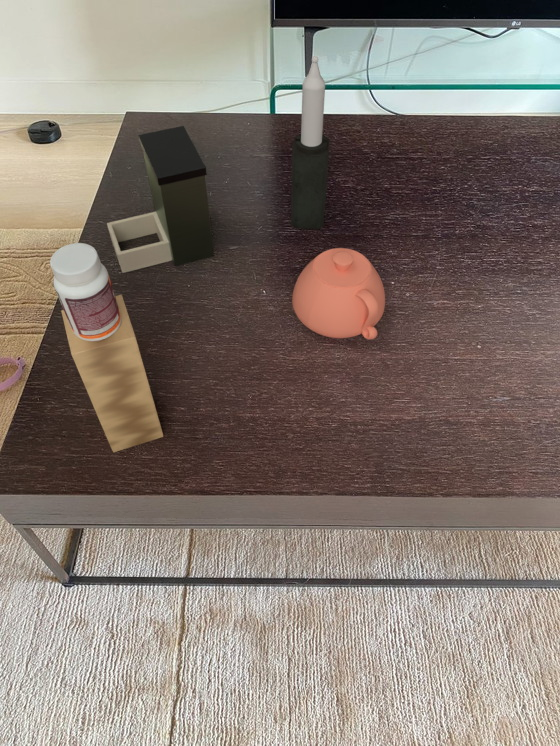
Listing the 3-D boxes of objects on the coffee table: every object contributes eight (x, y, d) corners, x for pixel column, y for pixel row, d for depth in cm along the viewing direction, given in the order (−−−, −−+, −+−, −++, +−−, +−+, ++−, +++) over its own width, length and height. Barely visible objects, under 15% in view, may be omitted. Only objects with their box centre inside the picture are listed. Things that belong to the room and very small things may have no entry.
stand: (113, 452, 71) (71, 354, 57) (102, 412, 75) (60, 310, 60) (163, 436, 73) (135, 336, 58) (151, 397, 76) (121, 294, 62)
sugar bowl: (347, 271, 90) (354, 213, 82) (408, 333, 82) (422, 277, 74) (275, 303, 86) (274, 246, 78) (332, 371, 79) (338, 317, 70)
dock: (122, 273, 89) (117, 255, 87) (111, 241, 94) (106, 222, 91) (172, 260, 91) (168, 242, 88) (159, 229, 95) (155, 211, 92)
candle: (293, 206, 99) (296, 45, 79) (325, 209, 98) (336, 47, 78) (290, 227, 95) (292, 65, 76) (323, 230, 95) (334, 67, 75)
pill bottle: (132, 318, 60) (113, 252, 53) (98, 350, 57) (74, 285, 51) (95, 298, 61) (73, 232, 55) (61, 329, 59) (33, 263, 52)
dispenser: (173, 267, 90) (157, 178, 78) (155, 224, 96) (138, 134, 84) (215, 256, 92) (206, 167, 79) (195, 214, 97) (183, 125, 85)
